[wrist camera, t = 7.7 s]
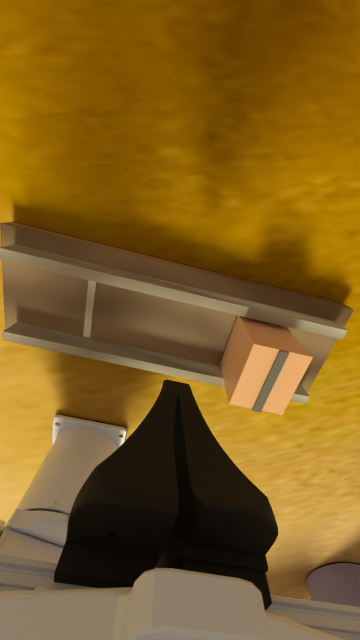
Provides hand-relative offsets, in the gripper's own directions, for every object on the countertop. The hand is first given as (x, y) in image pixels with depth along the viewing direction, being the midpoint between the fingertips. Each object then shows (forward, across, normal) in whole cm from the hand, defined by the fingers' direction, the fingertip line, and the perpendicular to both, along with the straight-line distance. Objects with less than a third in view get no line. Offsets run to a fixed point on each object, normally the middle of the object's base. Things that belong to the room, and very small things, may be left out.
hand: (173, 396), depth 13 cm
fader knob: (+8, -6, 0) cm, 11 cm away
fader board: (+10, 0, 0) cm, 10 cm away
